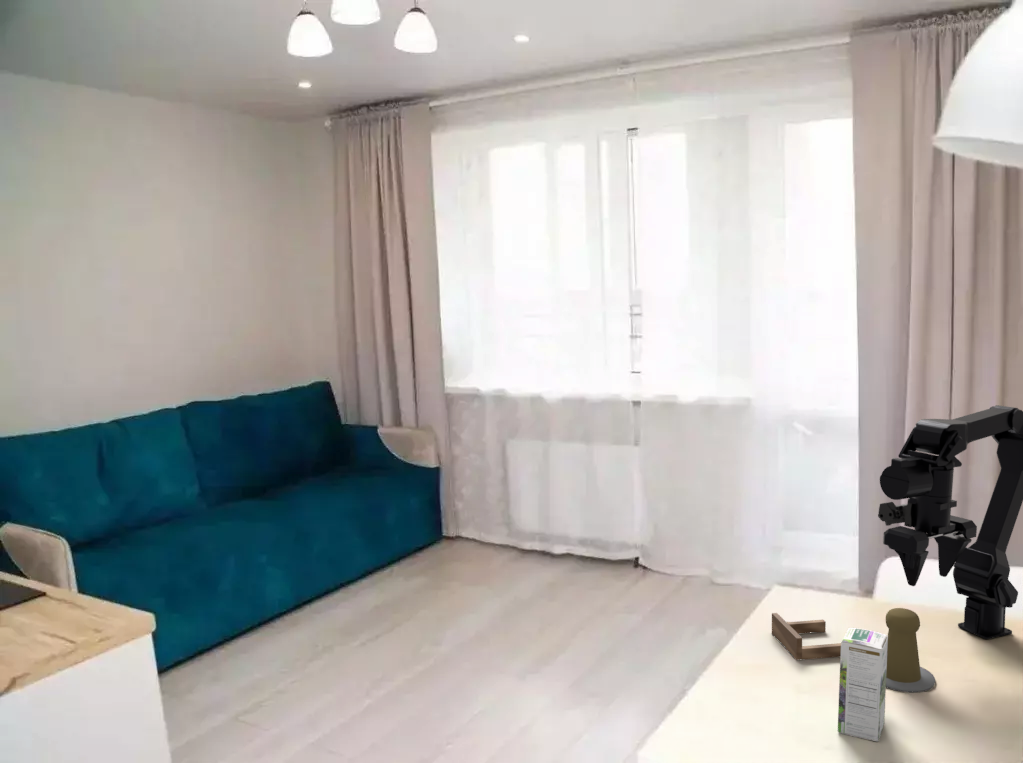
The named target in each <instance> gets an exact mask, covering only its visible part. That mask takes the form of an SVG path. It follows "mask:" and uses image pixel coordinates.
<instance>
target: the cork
mask: <svg viewBox="0 0 1023 763" xmlns="http://www.w3.org/2000/svg"><path fill="white" fill-rule="evenodd" d="M885 614H886V615H885V624H886V627H887V629H888V631H887V636H888V645H887V672H886V677H887V678H888V679H891V680H893V681H897V682H903V683H913V682H917V681H919V680H920V679H921V672H920V667H921V664H920V656H919V646H918V640H917V632H919V629H920V626H921V621H920V620H921V619H920V617H919V615H918V614H917V613H916V612H915V611H914V610H911V609H909V608H903V607H894V608H892V609H889V610H888V611H887V613H885Z"/></svg>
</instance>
